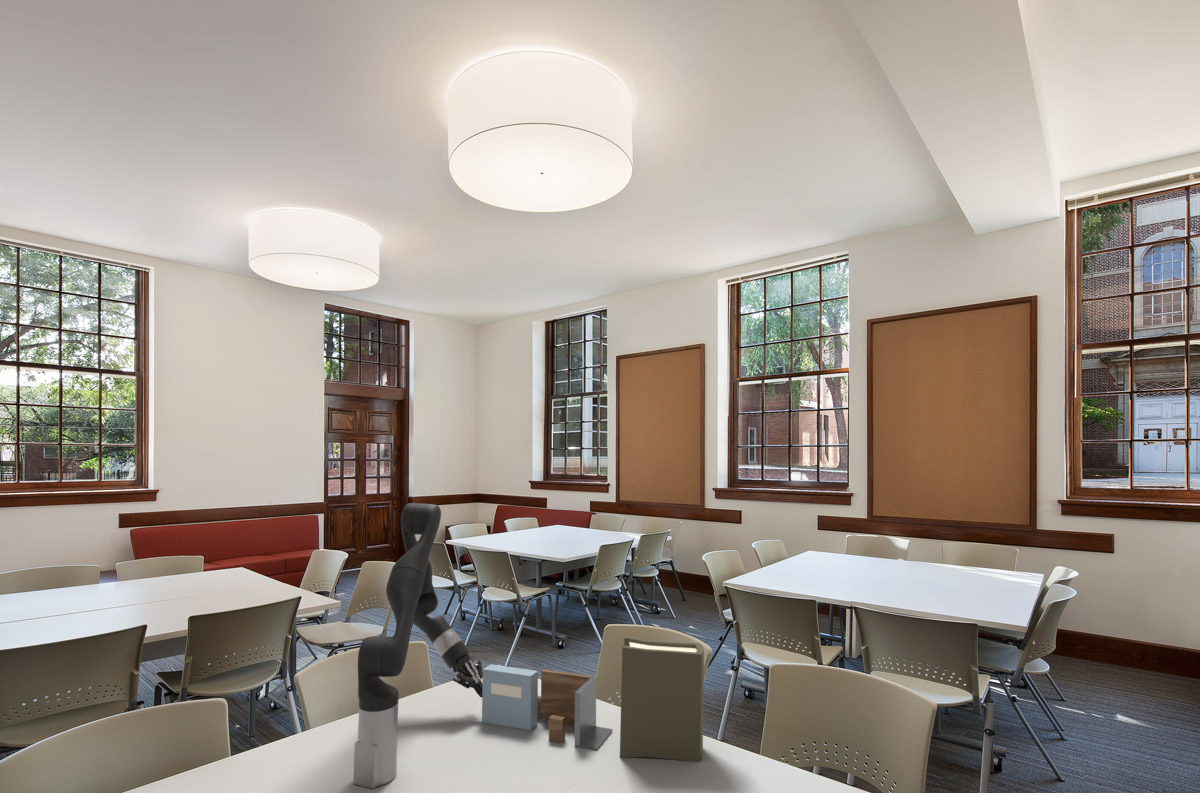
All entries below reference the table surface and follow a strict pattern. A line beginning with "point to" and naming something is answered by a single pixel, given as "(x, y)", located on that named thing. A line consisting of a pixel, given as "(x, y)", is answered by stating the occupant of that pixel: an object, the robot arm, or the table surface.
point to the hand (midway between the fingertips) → (484, 694)
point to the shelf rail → (558, 700)
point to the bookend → (588, 718)
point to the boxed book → (510, 696)
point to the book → (662, 700)
